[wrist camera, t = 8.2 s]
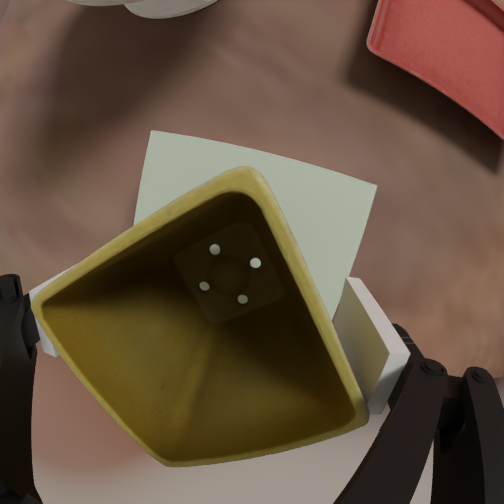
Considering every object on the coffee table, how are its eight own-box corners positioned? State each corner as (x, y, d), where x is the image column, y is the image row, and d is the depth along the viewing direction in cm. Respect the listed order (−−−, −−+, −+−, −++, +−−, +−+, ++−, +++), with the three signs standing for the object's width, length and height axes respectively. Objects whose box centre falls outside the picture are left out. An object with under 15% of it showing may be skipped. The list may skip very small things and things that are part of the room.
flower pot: (334, 308, 16) (375, 427, 7) (205, 358, 18) (163, 470, 9) (267, 166, 14) (253, 155, 6) (133, 239, 16) (24, 301, 7)
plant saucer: (385, -48, 14) (393, -63, 10) (512, 37, 14) (527, 30, 11) (353, 63, 19) (364, 48, 15) (503, 158, 19) (524, 159, 16)
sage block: (351, 181, 21) (377, 185, 16) (301, 334, 25) (307, 375, 20) (181, 139, 21) (151, 130, 16) (154, 294, 25) (125, 326, 20)
